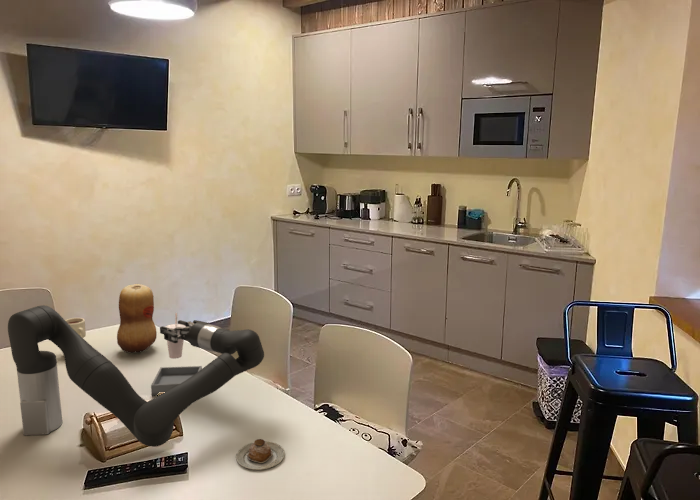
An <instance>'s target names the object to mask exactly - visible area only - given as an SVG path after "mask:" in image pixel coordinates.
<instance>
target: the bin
mask: <svg viewBox="0 0 700 500" xmlns="http://www.w3.org/2000/svg"><path fill="white" fill-rule="evenodd" d="M202 367H203V366H202V365H197V366H196V365H193V366H191V365H190V366H168V367H167V366H163V367H162V366H161V367H160V368H159V369H158V372H157V374H156V376H155V377H154V379H153V381H152V383H151V384H150V388H151V391H150V392H151V397H155V396H154V395H157V394H158V393H159V392H167V391H169V390H170V389H172V388H174V387H176V386H177V385H179V384H181V383H182V382H184V381H185V380H187V379H188V378H190V377H191V376H193V375H194V374H196V373H197V372H199V371H200V370H201V369H203V368H202Z"/></svg>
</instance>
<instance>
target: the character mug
mask: <svg viewBox="0 0 700 500" xmlns="http://www.w3.org/2000/svg"><path fill="white" fill-rule="evenodd" d="M64 320H65V321H66V322H67V323H68V324H69V325H70V326H71V327H72V328H73V329H74V330H75V331H76V332H77V333H78V334H79V335H80V336H81V337H82V338H83V339H85V337H86V332H87V331H86V320H85V318H82V317H71V318H67V319H64Z"/></svg>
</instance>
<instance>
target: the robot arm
mask: <svg viewBox="0 0 700 500" xmlns="http://www.w3.org/2000/svg"><path fill="white" fill-rule="evenodd" d="M65 320H66V319H65V318H64V317H63V316H62V315H60V313H58V311H56V310H55V309H54V308H53V307H50V306H48V305H44V304H43V305H37V306H34V307H31V308H28V309H24V310H22V311H21V310H20V311H19V312H15V313H14V314H12V315H10V317H9V319H8V321H7V334H8V338H9V345H10V351H11V356H12V359H13V360H12V361H13V362H14V364H15V366H16V372H17V383H18V393H19V400H20V402H19V404H20V413H21V421H22V422H21V423H22V430H23V436H35V435H49V434H50V433H51V432H53V431H56V430H57V429H58V428H59V427H61V426H62V424H63V414H62V404H61V403H62V402H61V393H60V384H59V383H60V381H59V372H58V371H59V370H58V361H57V354H56V353H54V352H52V351H49V350H40V348H39V344H40V343H42V342H44V341H50V342H52V343H53V344H54V345H55V346H56V347H57V348H59V350H60V351H61V353H62V354H63V357H64V358H63V359H64V364H65V369H66V373H67V376H68V377H69V379H70V381H72V382H73V383H74V384H75V385H76V386H77V387H79V389H81V390H82V391H83V392H84V393H86V394H87V396H89V397H90V398H92V399H93V401H95V402H97V403H98V404H99V405H100V406H102V407H103V408H104V409H106V410H107V411H108V412H110V413H111V414H112V415H114V416H115V418H117V419H118V420H119V421H120V422H121V423H122V424H123V425H124V426H125V427H126V429H127V430H128V431H129V432H130V433H131V434H132V435H133V436H134V438H136V440H137V441H138V442H139V443H141V444H142V445H144V446H147V447H152V448H155V447H160V446H162V445H165V444H166V443H167V442H168V441H169V440H170V439H171V436H172V434H173V431H174V424H175V423H174V422H175V420H176V419H177V418H178V417H179V416H180V415H181V414H182V413H183V412H184V411H185V410H186V409H187V408H188V407H189V406H191V405H192V404H194V403H195V402H197V401H199V400H200V399H202V398H205V397H207V396H209V395H211V394H213V393H214V392H216V391H218V390H220V388H221V387H223V386H225V385H226V384H227V383H229V382H230V381H231V380H232V379H233V378H234V377H236V376H238V375H241V374H242V373H245V372H246V371H249V370H252V369H254V368H256V367H257V366H259V365H260V364H261V363H262V361H263V360H264V358H265V352H264V348H263V345H262V342H261V339H260V336H259V334H258V333H257V332H256V331H254V330H252V329H237V330H230V329H227V328H226V329H225V328H222V327H220V326H218V325H215V324H212V323H211V324H210V322H207V321H201V320H198V319H197V320H193V321H184V320H177V324H182V325H185V326H186V327H176V328H175V329H173V328H167V327H166V326H164V325H163V326H160V327H159V333H160V334H161V335H163V339H164V340H165V341H167V340H168V341H170V342H173V343H178V340H179V339H182V340H184V341H187V342H188V343H189V344H190V346H193V347H195V348H198V349H202V350H205V351H209V352H216V353H218V354H219V355H218V356H216V358H214V359H213V360H212V361H210V362H209V363H208V364H207V365H205V366H204V367H203V368H202V369H201V370H200V371H199V372H197V373H196V374H194V375H193V376H191V377H190V378H188V379H187V380H185V381H184V382H182V383H181V384H179V385H177V386H176V387H174V388H172V389H170V390H169V391H167V392H165V393H163V394H161V395H159V396H155V397H154V398H152V399H150V400H149V401H146V400H145V399H144V398H142V397H141V396H140V395H139V393H137V392H136V390H135V389H134V388H133V386H132V385H131V383H130V382H129V381H128V379H127V377H125V375H124V373H122V371H121V370H120V369H119V368H118V367H117V366H116V365H115V364H114V363H113V362H112V361H111V360H109V359H108V358H107V357H106V356H104V355H103V354H102V353H101V352H100V351H98V350H97V349H96V348H95V347H94V346H92V345H91V344H90V343H89V342H87V340H85V338H82V337H81V336H80V335H79V334H78V333H77V332H76V331H75V330H74V329H73V328H72V327H71V326H70V325H69V324H68V323H67V322H66V321H65ZM178 330H180V335H178ZM171 331H174V333H173V332H171ZM236 352H237V356H238V357H236V358H235V357H234V356H233V354H235V353H236Z"/></svg>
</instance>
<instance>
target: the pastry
mask: <svg viewBox="0 0 700 500" xmlns="http://www.w3.org/2000/svg"><path fill="white" fill-rule="evenodd" d="M274 454H275V455H276V458H275V459H274V460H273V461H272V462H270V463H269V464H267V465H266V464H265V465H261V466H259V465H258V466H257V465H256V466H255V465H251V464H249V463H247V462H246V459H245V458H247V459H248V460H249V461H251V462H255V463H257V464H263V463H266V462H268V461H269V460H270V459H271V458H272V457H273V455H274ZM285 454H286V453H285V449H284V448H283V446H281V445H280V444H278V443H276V442H273V441H266V440H264V439H262V438H259V439H255V440H254V441H253V442H250V443H248V444H245V445H244V446H243V447H241V448H240V449H238V451H237V453H236V455H235V459H236V462H237V464H238V465H239V466H241V467H243V468H246V469H248V470H253V471H262V470H268V469H272V468H273V467H276V466H277V465H278V464H281V462H282V461H283V460H284V457H285Z"/></svg>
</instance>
